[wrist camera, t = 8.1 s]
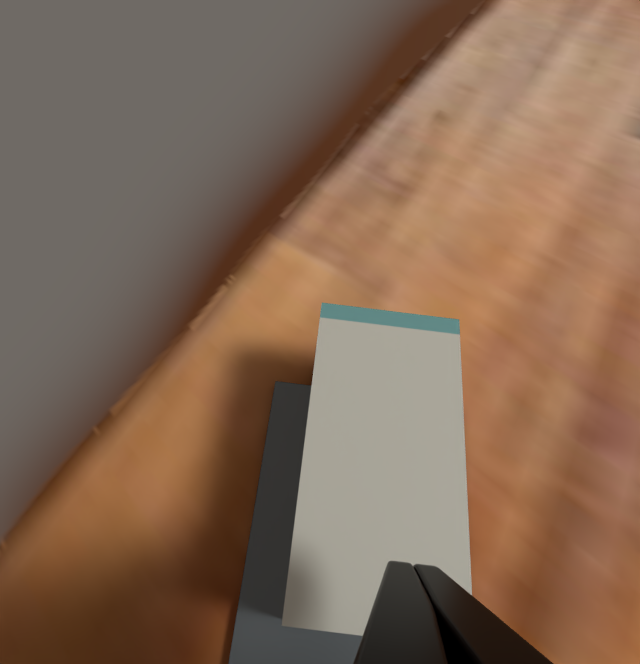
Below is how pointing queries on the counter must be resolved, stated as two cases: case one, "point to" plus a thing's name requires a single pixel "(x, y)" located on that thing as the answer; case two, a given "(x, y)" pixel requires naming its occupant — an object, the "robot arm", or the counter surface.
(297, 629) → the slate mat
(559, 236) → the counter surface
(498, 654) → the robot arm
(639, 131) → the counter surface
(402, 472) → the cream block
